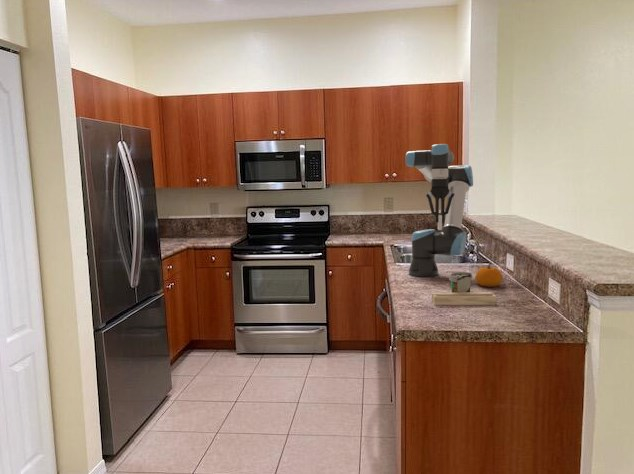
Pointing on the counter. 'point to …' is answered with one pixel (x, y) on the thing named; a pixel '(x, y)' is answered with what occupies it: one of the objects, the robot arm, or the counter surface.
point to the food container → (460, 282)
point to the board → (464, 298)
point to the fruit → (488, 277)
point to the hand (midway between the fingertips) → (439, 229)
